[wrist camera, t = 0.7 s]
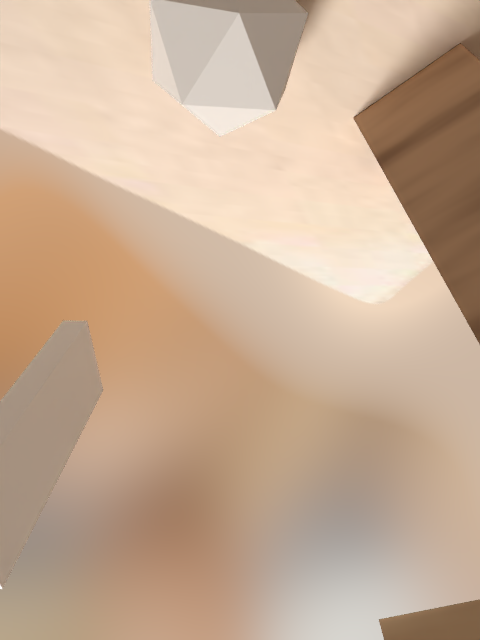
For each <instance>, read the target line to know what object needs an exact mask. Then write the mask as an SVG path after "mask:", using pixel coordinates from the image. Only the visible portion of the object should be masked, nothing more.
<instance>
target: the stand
mask: <svg viewBox="0 0 480 640" xmlns="http://www.w3.org/2000/svg"><path fill="white" fill-rule="evenodd" d="M354 120H355V122H356V123H357V125H358V127H359V129H360V131H361V132H362V134H363V136H364V138H365V140H366V141H367V143H368V145H369V147H370V148H371V150H372V152H373V154H374V156H375V157H376V159H377V161H378V163H379V165H380V166H381V168H382V170H383V172H384V174H385V175H386V177H387V179H388V181H389V183H390V184H391V186H392V188H393V190H394V191H395V193H396V195H397V197H398V199H399V200H400V202H401V204H402V206H403V208H404V209H405V211H406V213H407V215H408V217H409V218H410V220H411V222H412V224H413V226H414V227H415V229H416V231H417V233H418V234H419V236H420V238H421V240H422V242H423V243H424V245H425V247H426V249H427V251H428V252H429V254H430V256H431V258H432V260H433V261H434V263H435V265H436V267H437V269H438V270H439V272H440V274H441V276H442V277H443V279H444V281H445V283H446V285H447V286H448V288H449V290H450V292H451V294H452V295H453V297H454V299H455V301H456V303H457V304H458V306H459V308H460V310H461V312H462V313H463V315H464V317H465V319H466V320H467V322H468V324H469V326H470V327H471V329H472V331H473V333H474V335H475V337H476V338H477V340H478V342H479V343H480V60H479V59H477V58H476V57H475V56H474V55H473V54H472V53H471V52H470V51H469V50H468V49H467V48H466V47H464V46H463V45H462V44H461V43H460V44H459V45H457V46H456V47H454V48H453V49H451V50H450V51H449V52H447V53H446V54H444V55H443V56H441V57H440V58H439V59H437V60H436V61H434V62H433V63H431V64H430V65H428V66H427V67H426V68H424V69H423V70H421V71H420V72H418V73H417V74H416V75H414V76H413V77H411V78H410V79H408V80H407V81H406V82H404V83H403V84H401V85H400V86H398V87H397V88H396V89H394V90H393V91H391V92H390V93H388V94H387V95H386V96H384V97H383V98H381V99H380V100H378V101H377V102H376V103H374V104H373V105H371V106H370V107H368V108H367V109H366V110H364V111H363V112H361V113H360V114H358V115H357V116H356V117H354Z"/></svg>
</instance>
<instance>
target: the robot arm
mask: <svg viewBox="0 0 480 640" xmlns="http://www.w3.org/2000/svg"><path fill="white" fill-rule="evenodd" d="M102 391H103V387H102V383H101V379H100V374H99V370H98V366H97V361H96V357H95V353H94V348H93V344H92V339H91V335H90V331H89V326H88V322H87V321H63V322H62V323H61V324H60V325H59V327H58V328H57V329H56V331H55V332H54V333H53V335H52V336H51V337H50V338H49V340H48V341H47V342H46V343H45V345H44V346H43V347H42V349H41V350H40V351H39V352H38V354H37V355H36V356H35V358H34V359H33V360H32V361H31V363H30V364H29V365H28V367H27V368H26V369H25V370H24V372H23V373H22V374H21V376H20V377H19V378H18V379H17V380H16V382H15V383H14V385H13V386H12V387H11V388H10V389H9V391H8V392H7V393H6V395H5V396H4V397H3V398H2V400H1V401H0V589H3V587H4V585H5V583H6V581H7V579H8V577H9V575H10V573H11V571H12V569H13V567H14V565H15V563H16V561H17V559H18V557H19V555H20V553H21V551H22V549H23V547H24V545H25V544H26V541H27V540H28V538H29V535H30V534H31V532H32V530H33V528H34V525H35V524H36V522H37V520H38V518H39V516H40V514H41V512H42V510H43V508H44V506H45V504H46V502H47V500H48V498H49V496H50V494H51V492H52V490H53V488H54V486H55V484H56V482H57V480H58V478H59V476H60V474H61V472H62V470H63V469H64V467H65V465H66V463H67V460H68V459H69V457H70V455H71V453H72V451H73V449H74V447H75V445H76V443H77V441H78V439H79V437H80V435H81V433H82V431H83V429H84V427H85V425H86V423H87V421H88V419H89V417H90V415H91V413H92V411H93V409H94V407H95V405H96V403H97V401H98V399H99V397H100V395H101V393H102Z"/></svg>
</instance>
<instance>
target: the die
mask: <svg viewBox="0 0 480 640" xmlns="http://www.w3.org/2000/svg"><path fill="white" fill-rule="evenodd" d="M307 16H308V12H307V11H306V10H305V9H304V8H303V7H302V6H301V5H300V4H299V3H297V2H296V1H295V0H150V26H151V53H152V80H153V82H155V83H156V84H157V85H158V86H159V87H161V88H162V89H163V90H164V91H165V92H167V93H168V94H169V95H170V96H171V97H173V98H174V99H175V100H176V101H177V102H179V103H180V104H181V105H182V106H183V107H185V108H186V109H187V110H188V111H189V112H191V113H192V114H193V115H194V116H195V117H197V118H198V119H199V120H200V121H201V122H203V123H204V124H205V125H206V126H207V127H209V128H210V129H211V130H212V131H213V132H215V133H216V134H217V135H218V136H219V137H221V136H223V135H225V134H227V133H229V132H231V131H233V130H235V129H238V128H240V127H242V126H244V125H246V124H248V123H250V122H252V121H254V120H257V119H259V118H261V117H263V116H265V115H267V114H269V113H271V112H273V111H276V109H277V107H278V104H279V102H280V100H281V97H282V95H283V93H284V91H285V88H286V85H287V81H288V78H289V75H290V71H291V68H292V65H293V62H294V58H295V55H296V52H297V49H298V45H299V42H300V39H301V36H302V32H303V29H304V26H305V22H306V19H307Z"/></svg>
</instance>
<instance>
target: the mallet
mask: <svg viewBox="0 0 480 640" xmlns="http://www.w3.org/2000/svg"><path fill="white" fill-rule="evenodd" d="M379 622H380V625H381V629H382V633H383V637H384V640H480V600H475V601H470V602H464V603H460V604H454V605H450V606H445V607H439V608H435V609H430V610H424V611H419V612H414V613H409V614H404V615H400V616H394V617H389V618H384V619H379Z"/></svg>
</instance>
